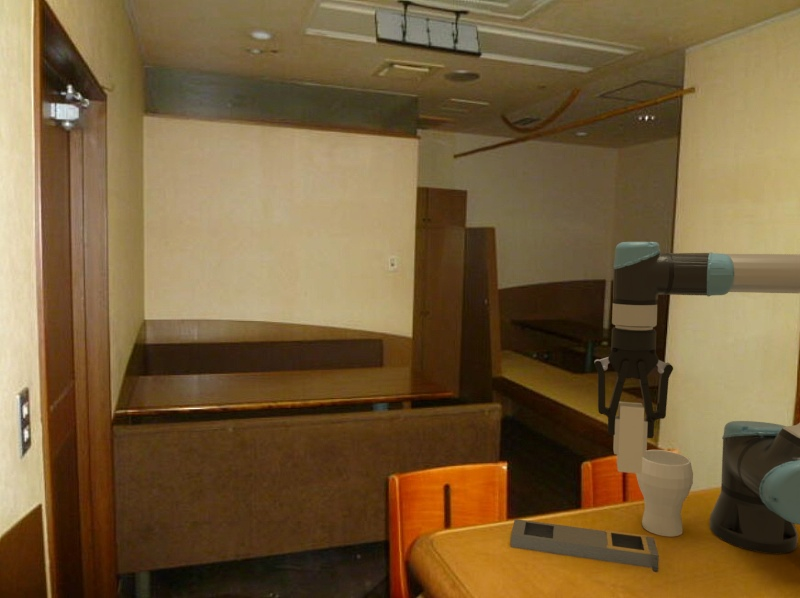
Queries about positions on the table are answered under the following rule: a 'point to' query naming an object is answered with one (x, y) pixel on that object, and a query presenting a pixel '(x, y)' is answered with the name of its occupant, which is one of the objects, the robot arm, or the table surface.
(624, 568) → the table surface
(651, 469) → the cup
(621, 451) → the peg
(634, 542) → the grey peg hole board
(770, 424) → the robot arm
